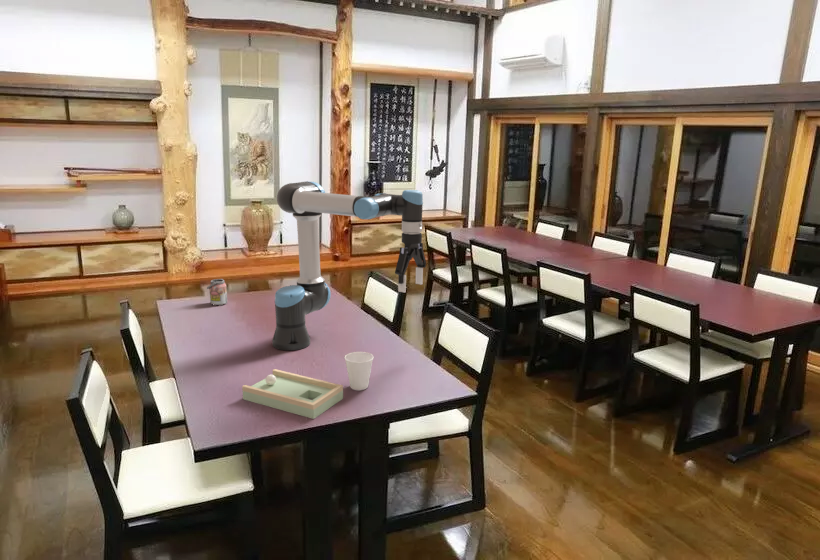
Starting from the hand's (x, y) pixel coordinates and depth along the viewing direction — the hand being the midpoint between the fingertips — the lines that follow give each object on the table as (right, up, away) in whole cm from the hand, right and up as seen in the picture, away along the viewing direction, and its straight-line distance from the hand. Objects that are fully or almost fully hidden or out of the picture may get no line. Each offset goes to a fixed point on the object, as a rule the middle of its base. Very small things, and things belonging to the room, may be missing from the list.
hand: (410, 287), depth 219 cm
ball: (-46, -30, -28) cm, 62 cm away
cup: (-18, -34, -22) cm, 44 cm away
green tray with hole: (-38, -36, -31) cm, 61 cm away
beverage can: (-97, -9, +71) cm, 120 cm away
